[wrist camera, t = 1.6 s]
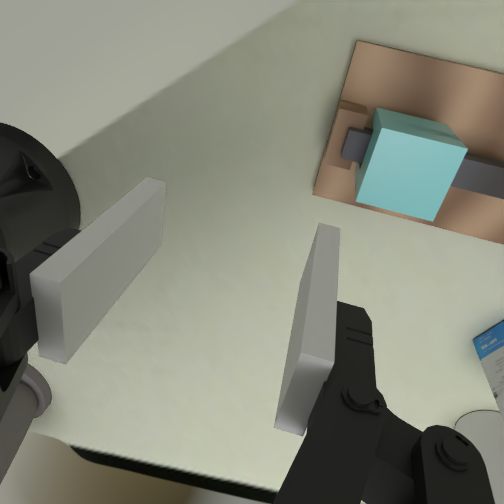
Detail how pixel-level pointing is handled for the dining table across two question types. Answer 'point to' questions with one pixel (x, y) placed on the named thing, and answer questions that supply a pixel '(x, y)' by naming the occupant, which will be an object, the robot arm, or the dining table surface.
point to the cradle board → (431, 108)
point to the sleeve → (408, 164)
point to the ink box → (493, 361)
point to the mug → (487, 445)
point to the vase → (22, 414)
